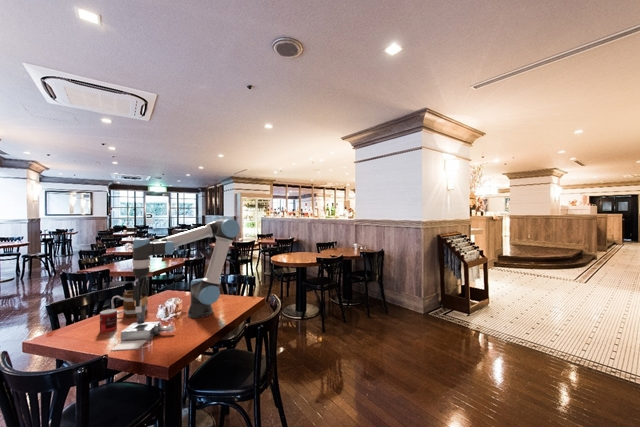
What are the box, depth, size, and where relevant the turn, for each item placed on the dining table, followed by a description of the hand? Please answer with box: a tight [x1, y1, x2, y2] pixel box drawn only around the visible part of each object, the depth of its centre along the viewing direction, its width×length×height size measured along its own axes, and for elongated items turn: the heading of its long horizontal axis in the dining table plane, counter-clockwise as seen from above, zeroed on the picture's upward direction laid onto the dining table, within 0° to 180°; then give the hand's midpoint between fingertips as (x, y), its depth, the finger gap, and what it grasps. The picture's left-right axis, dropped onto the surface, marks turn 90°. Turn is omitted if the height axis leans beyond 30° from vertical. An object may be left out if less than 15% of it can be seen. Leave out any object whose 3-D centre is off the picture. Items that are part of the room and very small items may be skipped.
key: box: [134, 296, 148, 324], centre depth 149 cm, size 4×4×14 cm
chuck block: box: [120, 321, 174, 342], centre depth 150 cm, size 23×12×6 cm, turn 98°
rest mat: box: [110, 340, 148, 352], centre depth 138 cm, size 12×9×1 cm
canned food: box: [99, 308, 118, 334], centre depth 156 cm, size 8×8×11 cm
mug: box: [110, 289, 148, 319], centre depth 180 cm, size 20×14×15 cm
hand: (141, 310), depth 149 cm, fingers closed on key, 4 cm apart
